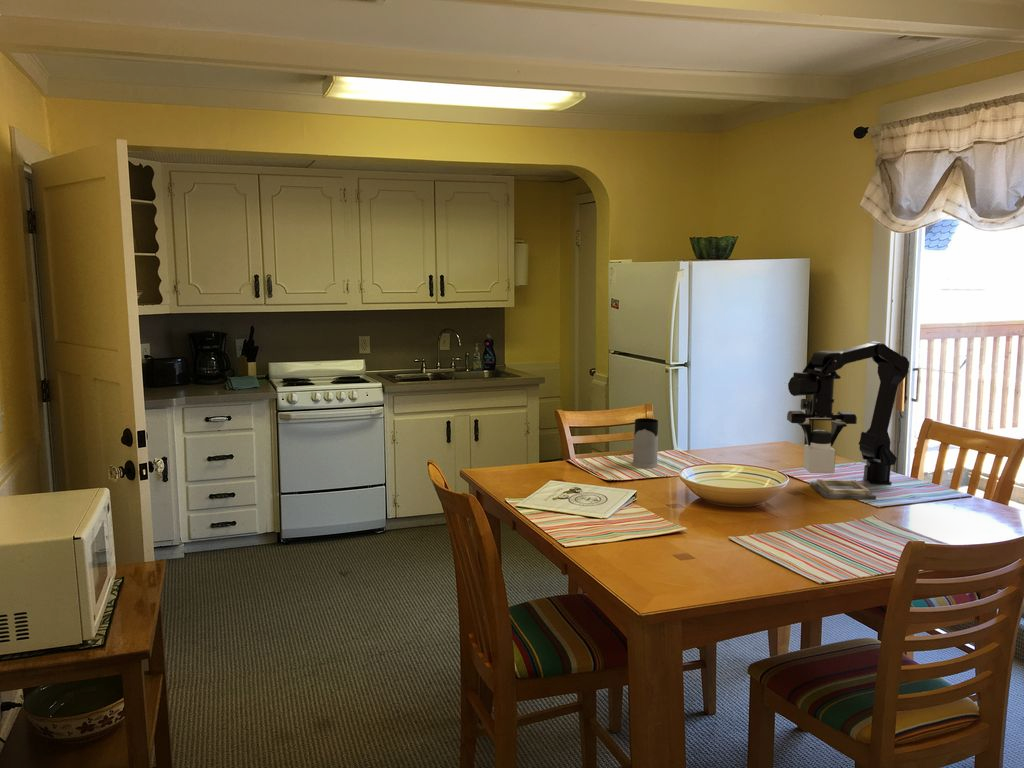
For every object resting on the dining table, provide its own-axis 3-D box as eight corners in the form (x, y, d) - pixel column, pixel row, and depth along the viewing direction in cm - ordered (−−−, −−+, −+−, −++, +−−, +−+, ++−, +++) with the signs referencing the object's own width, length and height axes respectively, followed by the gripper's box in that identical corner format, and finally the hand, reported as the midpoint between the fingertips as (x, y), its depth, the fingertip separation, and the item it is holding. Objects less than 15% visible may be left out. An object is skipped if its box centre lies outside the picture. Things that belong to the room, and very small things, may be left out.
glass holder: (629, 466, 268) (631, 421, 266) (636, 457, 282) (637, 414, 280) (656, 469, 266) (658, 423, 264) (661, 459, 279) (663, 415, 277)
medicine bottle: (834, 473, 243) (836, 433, 241) (810, 473, 243) (812, 433, 241) (826, 467, 250) (828, 428, 248) (802, 467, 250) (804, 428, 248)
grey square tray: (857, 486, 248) (858, 479, 248) (875, 499, 234) (876, 492, 234) (810, 485, 249) (811, 478, 249) (825, 498, 235) (826, 490, 235)
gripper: (846, 390, 250) (843, 440, 252) (783, 389, 251) (781, 439, 254) (858, 396, 239) (855, 448, 241) (793, 395, 240) (790, 447, 243)
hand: (819, 445), depth 245 cm, fingers closed on medicine bottle, 6 cm apart
